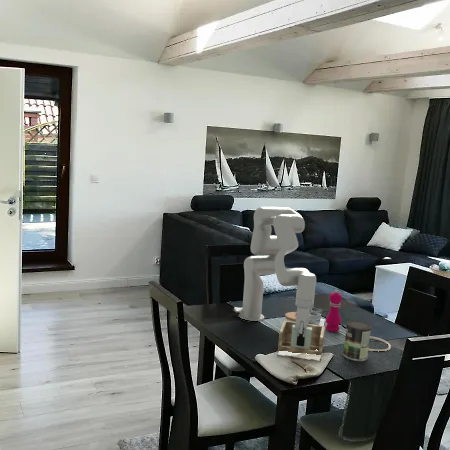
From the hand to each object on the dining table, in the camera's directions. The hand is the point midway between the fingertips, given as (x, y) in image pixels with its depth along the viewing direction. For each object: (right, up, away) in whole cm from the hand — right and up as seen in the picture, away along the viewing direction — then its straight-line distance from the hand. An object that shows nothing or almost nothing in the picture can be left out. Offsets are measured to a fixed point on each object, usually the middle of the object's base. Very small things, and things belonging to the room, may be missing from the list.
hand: (300, 343), depth 232 cm
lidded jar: (+1, 0, +28) cm, 28 cm away
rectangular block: (0, -2, 0) cm, 2 cm away
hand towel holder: (+34, -5, +19) cm, 39 cm away
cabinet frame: (0, -4, +4) cm, 6 cm away
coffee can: (+24, -6, +3) cm, 25 cm away
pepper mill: (+20, -1, +34) cm, 40 cm away
